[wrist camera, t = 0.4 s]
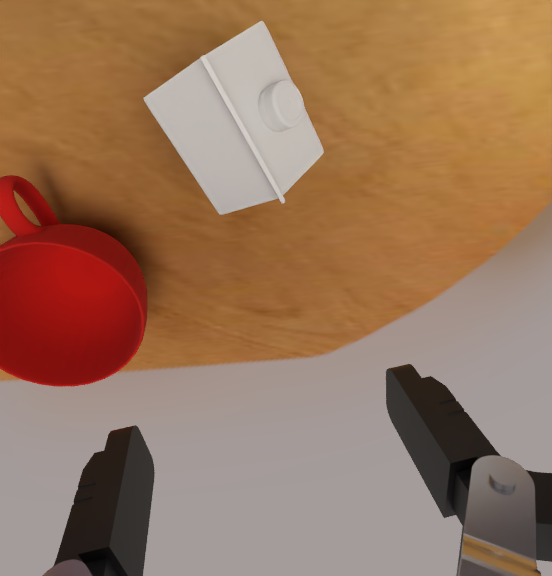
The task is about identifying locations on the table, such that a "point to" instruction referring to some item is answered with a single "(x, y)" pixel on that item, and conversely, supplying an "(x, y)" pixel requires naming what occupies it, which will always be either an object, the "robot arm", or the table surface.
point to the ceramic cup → (65, 296)
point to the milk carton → (238, 122)
